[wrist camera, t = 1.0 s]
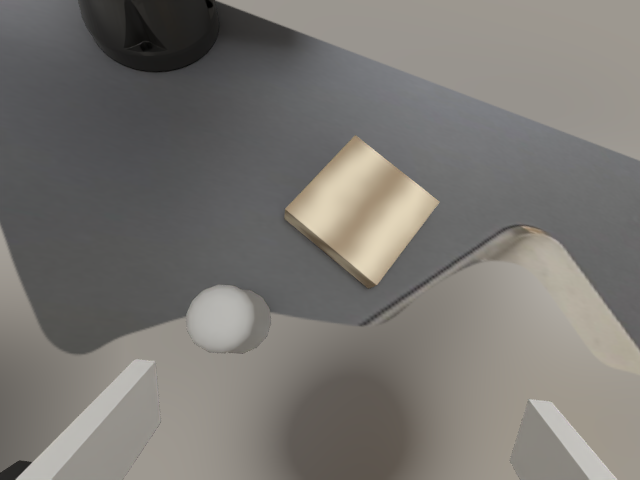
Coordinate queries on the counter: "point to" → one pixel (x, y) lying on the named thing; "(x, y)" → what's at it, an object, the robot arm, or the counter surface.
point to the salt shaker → (228, 319)
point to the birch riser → (361, 211)
